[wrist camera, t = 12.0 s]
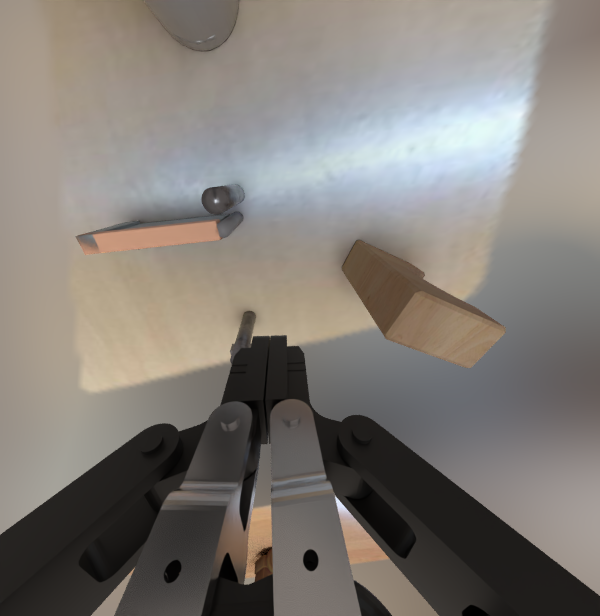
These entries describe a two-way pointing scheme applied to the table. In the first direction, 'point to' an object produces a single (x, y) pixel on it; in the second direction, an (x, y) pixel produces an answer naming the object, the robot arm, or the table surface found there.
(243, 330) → the gate frame
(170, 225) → the gate
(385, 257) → the decorative block
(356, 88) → the table surface
